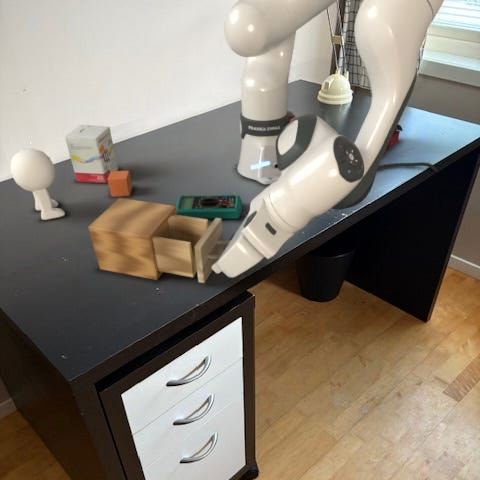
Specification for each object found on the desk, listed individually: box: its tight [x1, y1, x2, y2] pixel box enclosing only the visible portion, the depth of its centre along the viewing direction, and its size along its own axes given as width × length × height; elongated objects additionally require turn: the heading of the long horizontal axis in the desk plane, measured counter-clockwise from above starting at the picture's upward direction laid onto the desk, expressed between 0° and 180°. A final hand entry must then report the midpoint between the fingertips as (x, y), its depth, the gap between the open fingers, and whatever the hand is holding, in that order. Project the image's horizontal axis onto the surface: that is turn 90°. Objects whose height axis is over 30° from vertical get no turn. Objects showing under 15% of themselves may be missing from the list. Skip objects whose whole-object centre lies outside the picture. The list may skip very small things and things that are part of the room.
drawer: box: [152, 214, 230, 284], centre depth 90 cm, size 16×10×8 cm, turn 71°
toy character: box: [9, 148, 66, 221], centre depth 107 cm, size 9×9×15 cm
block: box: [107, 170, 133, 198], centre depth 117 cm, size 4×4×4 cm
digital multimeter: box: [175, 194, 243, 220], centre depth 108 cm, size 7×15×3 cm, turn 88°
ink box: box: [64, 124, 119, 184], centre depth 122 cm, size 9×9×12 cm
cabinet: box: [88, 197, 177, 281], centre depth 93 cm, size 13×12×10 cm
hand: (224, 254), depth 89 cm, fingers open, 8 cm apart
